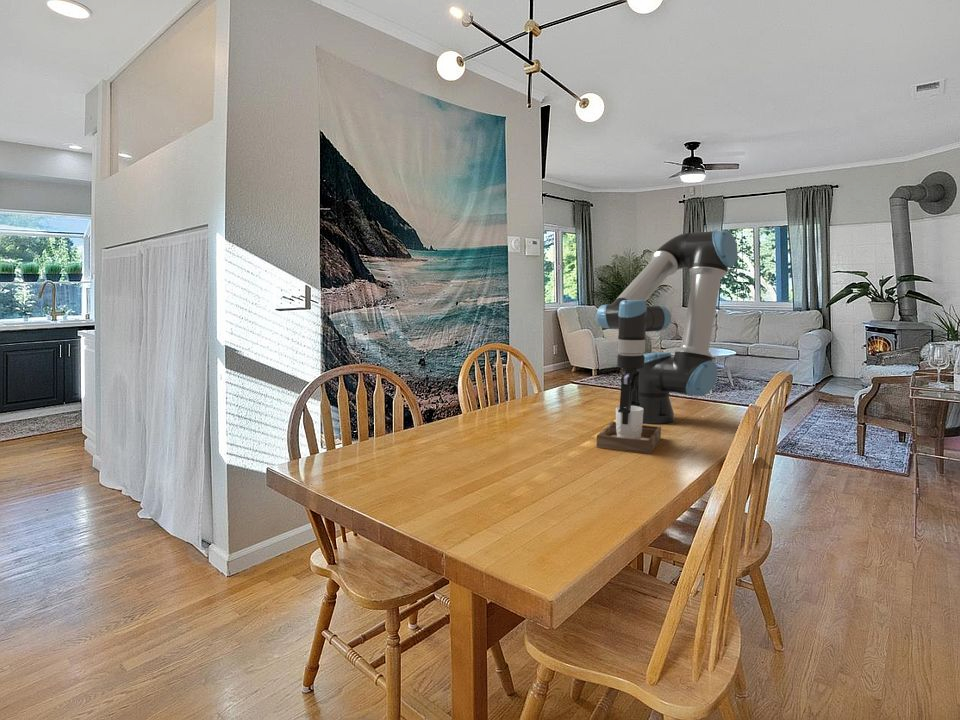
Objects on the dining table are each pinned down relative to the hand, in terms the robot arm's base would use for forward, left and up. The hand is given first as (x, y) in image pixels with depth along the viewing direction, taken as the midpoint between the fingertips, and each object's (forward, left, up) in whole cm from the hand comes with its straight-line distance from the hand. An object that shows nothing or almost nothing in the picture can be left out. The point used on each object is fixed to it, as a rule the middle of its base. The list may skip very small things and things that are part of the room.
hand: (628, 431), depth 165 cm
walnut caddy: (-2, 0, -4) cm, 4 cm away
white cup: (0, 0, -3) cm, 3 cm away
